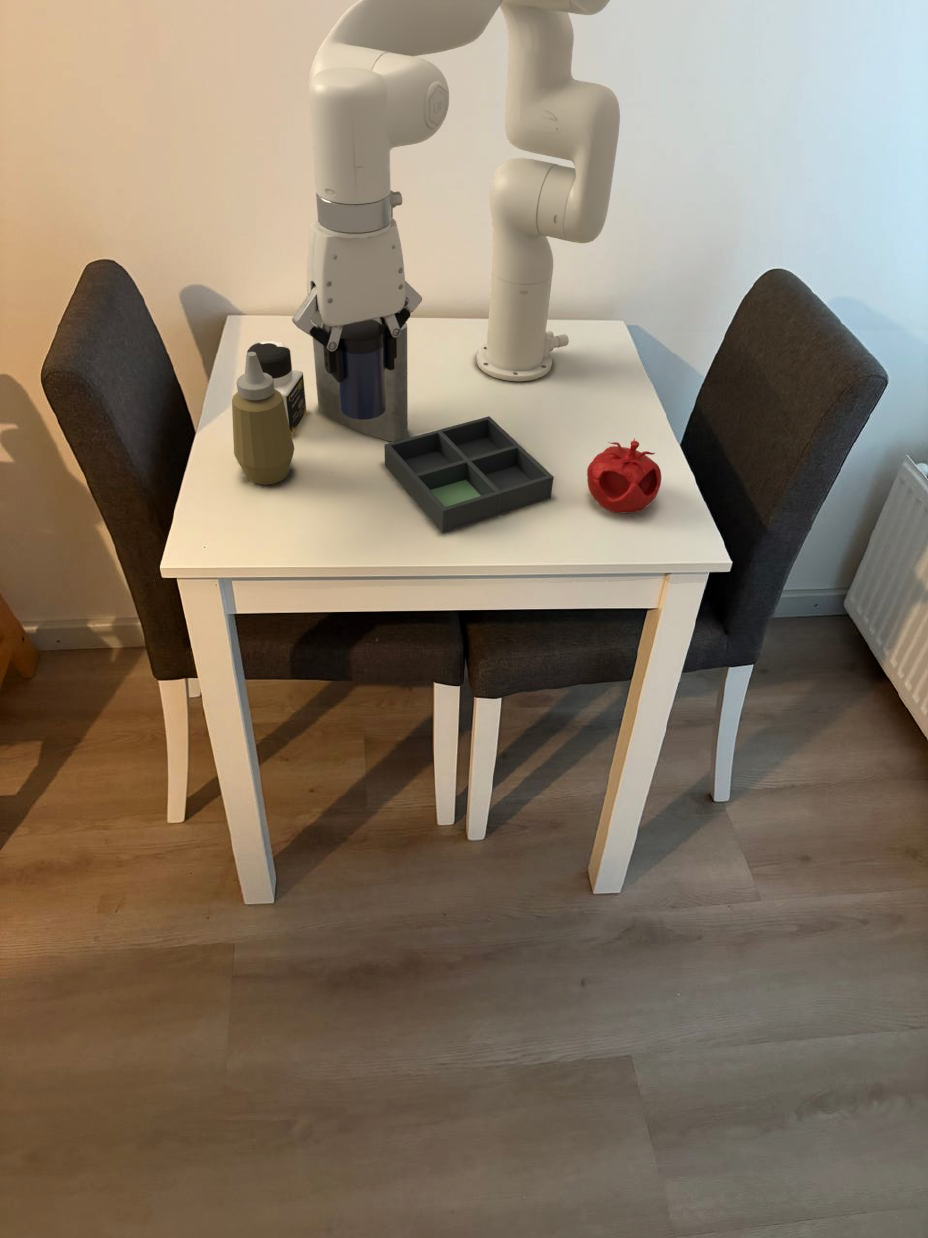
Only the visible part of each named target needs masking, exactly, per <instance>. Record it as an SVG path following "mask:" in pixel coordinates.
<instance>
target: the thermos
mask: <svg viewBox="0 0 928 1238" xmlns="http://www.w3.org/2000/svg"><path fill="white" fill-rule="evenodd" d="M338 346H339V347H340V348H341V349H342V351H343V363H344V380H343V382H339V383H338V390H339V405H340V410H341V412H342V413H343V414H344V415H345V416H347V417H349V418H353V419H358V420H367V419H373V418H376V417H378V416H380V415H382V414H383V413H384V412H385V410H386V368H385V329H384V327H383V325H382V324H381V323H379V322H377V321H375V320H372V319H370V320H366V321H361V322H356V323H351V324H346V325H343V329H342V333H341V336H340V340H339V344H338Z"/></svg>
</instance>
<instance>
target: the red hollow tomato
mask: <svg viewBox="0 0 928 1238" xmlns="http://www.w3.org/2000/svg"><path fill="white" fill-rule="evenodd" d="M607 443H608V444H611V445H610V446H609V447H606V448H605V449H604V450H603V451H602V452H600V453H598V454H597V455H595V456H594V458H593V459H592V461H591V462H590V463H589V465H588V467H587V469H586V476H587V479H586V480H587V486H588V491H589V493H590V495H591V496H592V498H593V499H594V501H596V502H597V504H598V506H600V507H601V508H603V509H605V510H606V511H608V512H610V513H616V514H631V513H637V512H640V511H643V510H645V509H646V508H647V507H648V506H650V505H651V503H652V502H653V501H654V500H655V499H656V497H657V496H658V492H659V491H660V487H661V485H662V484H661V483H662V471H661V468H660V467H659V465H658V463H656V462H655V461H654V460H653V459H651V458H650V457H649V456H647V455H651V456H653V455H655V454H656V452H651V451H647V450H644V451H642V452H641V451H639V450H637V449H639V447H640V442H639V441H637V440H636V437H635V438H633V440H632V441H630V446H629V447H624V446H621V444H620V443H619V442H617V441H616V442H614V441H613V442H610V441H607Z"/></svg>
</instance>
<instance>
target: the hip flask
mask: <svg viewBox="0 0 928 1238" xmlns="http://www.w3.org/2000/svg"><path fill="white" fill-rule="evenodd" d="M372 320H375V321H377V322H379V323H380V320H379V318H375V319H372ZM311 322H313V323H315V324H316V325H318V326H319V327H321V323H322V317H321V314H320V312H316V313H315V314H314V315H313V317H312V319H311ZM400 330H401V333H400V335H399V336H398V337H397V358H396V359H394V366H395V368H394V370H388V369H387V368H386V367H385V368H386V410H385V412H384V413H383V414H382V415H380V416H378V417H376V418H373V419H367V420H358V419H353V418H349V417H347V416H345V415H344V414H343V413H342V412H341V410H340V405H339V390H338V382H337V380H336V379H335V378H334V377H333V376H332V375H331V374H329V373H328V372H327V371H326V368H325V363H324V350H323V345H322V344H321V343H319V342H318V341H317V340H315V339H314V338H313V337H312V346H313V347H312V348H313V359H314V373H315V384H316V397H317V406H318V412H319V413H320V414H321V415H323V416H325V417H327V418H328V419H330V420H332V421H334V422H336V423H338V424H340V425H342V426H344V427H347V428H349V429H351V430H354V431H357V432H359V433H362V434H364V435H367V436H371V437H373V438H377V439H380V440H383V441H388V442H395V441H399V440H403V439H406V438H409V437H408V426H409V425H408V422H409V421H408V417H409V416H408V411H409V410H408V409H409V408H408V407H409V406H408V323H407V322H406V323H405V324H404V325H403V326H402V328H401V329H400Z"/></svg>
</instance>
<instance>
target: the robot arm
mask: <svg viewBox="0 0 928 1238" xmlns="http://www.w3.org/2000/svg"><path fill="white" fill-rule="evenodd" d="M610 2H611V0H357V1H356V2H354V3H353V4H352V5H350V7H348V8H347V9H346V10H345V11H344V12H343V14H342V15H341V16H340V17H339V18H338V19H337V21H336V22H335V23H334V25H333V26H332V27H331V29H330V31H329V32H328V34H327V35H326V36H325V38H324V39H323V41H322V43H321V44H320V46H319V48H318V50H317V52H316V54H315V56H314V59H313V61H312V64H311V68H310V71H309V77H308V104H309V118H310V131H311V143H312V144H311V145H312V146H311V147H312V160H313V172H314V186H315V197H316V212H317V220H316V221H313V222H311V223H310V227H309V233H308V241H307V251H306V252H307V255H306V293H307V294H306V297H305V299H304V300H303V301H302V303H301V305H299V308H298V309H297V310H296V311H295V313H294V314H293V317H292V318H291V321H292V323H293V324H294V325H295V326H296V328H297V329H299V330H301V331H302V332H304V333H305V334H307V335H308V336H310V337H312V339H313V338H314V339H315V340H317V341H318V342H319V343H321V344H322V345H323V350H324V363H325V368H326V371H327V372H328V373H329V374H331V375H332V376H333V377H334V378H335V379H336V380H337V382H338V383H339V382H343V380H344V363H343V351H342V349H341V348H340V347H339V346H338V344H339V340H340V336H341V333H342V329H343V325H346V324H351V323H356V322H361V321H366V320H370V319H375V318H379V320H380V323H381V324H382V325H383V327H384V329H385V367H386V368H387V369H388V370H394V368H395V366H394V359H396V358H397V337H398V336H399V335H400V333H401V330H400V329H401V328H402V326H403V325H404V324H405V323H407V322H408V321H409V319H410V318H411V314H412V313H413V312H414V311H415V310H416V309H417V307H418V306H419V305H420V304H421V303H422V301H423V296H422V295H421V294H420V293H419V292H418V291H416V289H415V288H414V287H413V286H412V285H410V284H409V282H407V281H406V274H405V273H406V272H405V263H404V255H403V254H404V253H403V248H402V242H401V237H400V232H399V228H398V225H397V221H396V220H395V218H393V217H394V214H393V213H394V210H393V209H395V208H396V207H398V206H402V204H403V196H402V193H401V192H400V191H399V190H397V191H393V190H392V189H391V150H392V149H395V148H398V147H399V148H400V147H405V146H406V147H407V146H411V145H412V146H413V145H416V144H417V145H418V144H419V143H423V142H425V141H427V140H428V139H430V138H432V136H434V135H435V134H436V133H437V132H438V131H439V130H440V128H441V127H442V125H443V124H444V121H445V119H446V117H447V115H448V112H449V106H450V89H449V85H448V82H447V79H446V77H445V75H444V74H443V72H442V70H440V68H439V67H438V66H437V65H435V64H434V63H432V62H431V61H429V60H427V59H424V58H421V57H418V56H425V55H431V54H437V53H442V52H447V51H451V50H455V49H458V48H462V47H464V46H467V45H469V44H472V43H473V42H475V41H476V40H477V39H479V38H480V36H482V34H483V33H484V31H485V30H486V28H487V27H488V25H489V24H490V22H491V20H492V19H493V17H494V15H495V13H496V12H497V11H498V9H500V10H501V12H502V15H503V18H504V20H505V24H506V28H507V29H506V30H507V36H508V53H507V54H508V55H507V74H506V89H505V106H504V107H505V109H504V129H505V136H506V138H507V140H508V142H509V143H510V145H512V147H514V148H516V149H519V150H521V151H525V152H527V153H531V154H537V155H542V156H546V157H550V158H551V157H552V158H557V159H560V160H561V159H562V160H565V161H569V162H570V161H571V162H572V163H573V166H574V167H572V166H571V167H570V166H565V165H560V164H558V163H553V162H549V161H543V160H538V159H534V158H526V157H525V158H524V157H518V158H517V157H516V158H512V159H508V160H506V161H504V162H502V163H501V164H500V165H499V166H498V167H497V168H496V170H495V171H494V173H493V176H492V177H491V181H490V188H489V205H490V215H491V223H492V225H491V226H492V258H491V259H492V260H491V273H490V274H491V275H490V276H491V277H490V278H491V279H490V291H489V308H488V320H487V321H488V322H487V323H488V324H487V336H486V344H483V346H482V347H481V348H479V349H478V351H477V353H476V365H477V366H478V368H479V369H480V370H481V371H482V372H484V373H485V374H486V375H489V376H490V377H492V378H496V379H499V380H503V381H508V382H528V381H533V380H537V379H539V378H542V377H544V376H545V375H547V374H548V373H549V372H550V371H551V369H552V363H553V358H552V355H551V354H550V352H553V350H554V349H556V348H557V349H559V348H563V347H566V346H568V345H569V336H568V335H567V334H566V333H563V334H559V335H556V336H555V335H554V332H553V330H549V331H547V326H548V316H549V309H550V300H551V292H552V291H551V290H552V280H553V273H554V256H553V255H554V254H553V251H552V247H551V244H550V242H549V239H548V237H549V238H553V239H556V240H561V241H566V242H570V243H575V244H588V243H592V242H593V241H595V240H596V239H597V238H598V237H599V236H600V234H601V232H602V230H603V229H604V226H605V223H606V219H607V216H608V211H609V205H610V199H611V192H612V185H613V184H612V183H613V178H614V171H615V163H616V156H617V149H618V143H619V135H620V127H621V126H620V124H621V109H620V103H619V101H618V97H617V95H616V94H615V92H614V91H613V90H612V89H611V88H609V87H607V86H606V85H603V84H600V83H596V82H589V81H582V80H578V79H574V78H573V75H572V63H573V61H572V60H573V49H574V41H575V38H574V37H575V34H574V29H573V23H572V21H571V17H570V14H574V15H582V16H593V15H596V14H598V13H600V12H601V11H603V10H604V9H605V8H606V7H607V5H608V4H609V3H610ZM316 312H320V314H321V317H322V323H321V327H319V326H318V325H316V324H315V323H313V322H311V319H312V317H313V315H314V314H315V313H316Z"/></svg>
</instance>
